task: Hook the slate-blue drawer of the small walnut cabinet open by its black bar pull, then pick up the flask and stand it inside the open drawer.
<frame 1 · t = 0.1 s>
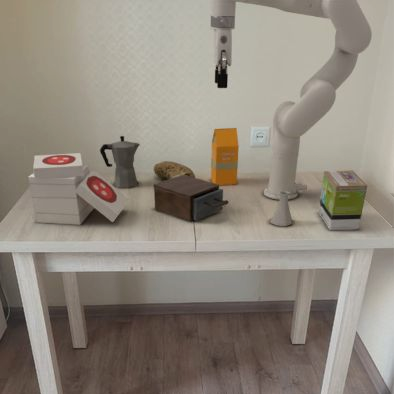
hand: (220, 85, 161), 37 cm above the table, tool pointing down, fingers open, 9 cm apart
flask: (281, 223, 162), on the table
cabinet: (186, 209, 171), on the table
pizza boxes: (82, 216, 166), on the table
tea box: (337, 222, 163), on the table
coffeepot: (123, 185, 193), on the table
orange juice: (223, 182, 196), on the table
drawer: (198, 201, 166), point 4 cm above the table, slide at 1.0 cm
sponge: (173, 181, 197), on the table
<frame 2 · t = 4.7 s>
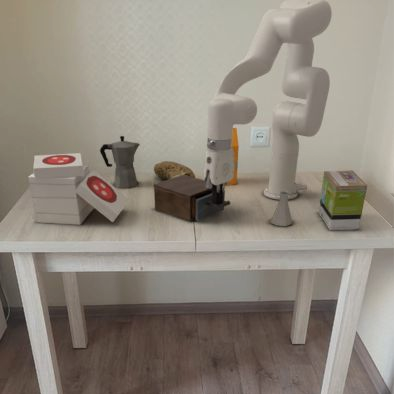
hand: (217, 203, 160), 6 cm above the table, tool pointing down, fingers closed
drawer: (200, 201, 165), point 4 cm above the table, slide at 1.8 cm, touching gripper
everything else where it was.
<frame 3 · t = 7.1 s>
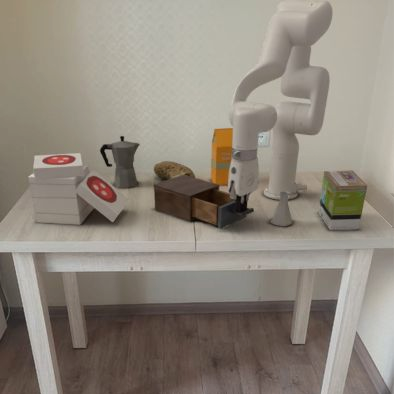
hand: (240, 213, 156), 5 cm above the table, tool pointing down, fingers closed
drawer: (222, 208, 160), point 4 cm above the table, slide at 11.5 cm
everything else where it was.
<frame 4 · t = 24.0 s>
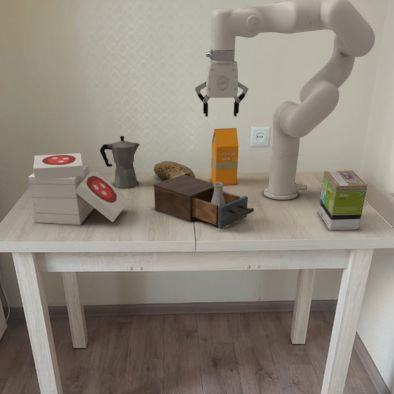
hand: (220, 115, 163), 28 cm above the table, tool pointing down, fingers open, 9 cm apart
flask: (217, 214, 163), point 2 cm above the table, touching drawer
drawer: (222, 208, 160), point 4 cm above the table, slide at 11.5 cm, touching flask
everything else where it was.
at the end: drawer slide at 11.5 cm; flask inside the target area in the drawer (0.0 cm from its centre), point 1.9 cm above the cabinet's base; flask tilted 0° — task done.
